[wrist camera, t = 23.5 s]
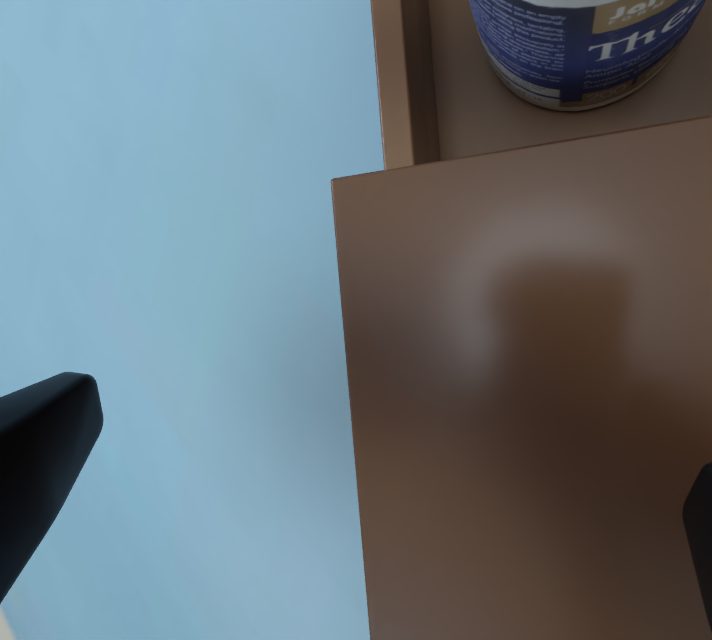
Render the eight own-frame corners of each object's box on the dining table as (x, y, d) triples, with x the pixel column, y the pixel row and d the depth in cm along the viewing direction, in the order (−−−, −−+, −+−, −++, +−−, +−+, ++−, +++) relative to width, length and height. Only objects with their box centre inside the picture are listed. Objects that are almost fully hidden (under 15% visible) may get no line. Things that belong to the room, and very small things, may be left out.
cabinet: (398, 209, 19) (329, 178, 13) (836, 147, 15) (1020, 62, 9) (426, 553, 19) (372, 670, 14) (856, 590, 15) (1043, 783, 9)
